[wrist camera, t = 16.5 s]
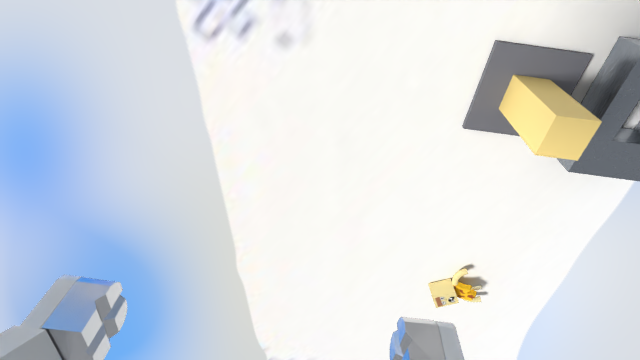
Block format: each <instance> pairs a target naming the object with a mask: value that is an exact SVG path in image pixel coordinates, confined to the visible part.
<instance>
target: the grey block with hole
mask: <svg viewBox="0 0 640 360" xmlns="http://www.w3.org/2000/svg"><path fill="white" fill-rule="evenodd" d="M639 100H640V39H633V38H626V37H619V38H618V40H617V42H616V44H615V45H614V47H613V49H612V51H611V52H610V54H609V56H608V57H607V59H606V61H605V63H604V64H603V66H602V68H601V70H600V71H599V73H598V75H597V77H596V78H595V80H594V82H593V84H592V85H591V87H590V89H589V91H588V92H587V94H586V96H585V98H584V99H583V101H582V103H581V105H582V106H583V107H585V108H586V109H587V110H588V111H589V112H591V113H592V114H593V115H594V116H596V117H597V118H598V119H599V120H601V121H602V123H601V124H600V126H599V127H598V129H597V131H596V132H595V134H594V135H593V137H592V139H591V140H590V142H589V143H588V145H587V147H586V148H585V150H584V151H583V153H582V155H581V156H580V158H579V159H578V161H576V160H569V159H561V158H557V159H558V161H559V162H560V163H561V164H562V165H563V166H564V167H565V169H566V170H567V171H568V172H574V173H581V174H589V175H596V176H604V177H611V178H619V179H626V180H634V181H640V121H639V123H638V124H637V126H636V127H635V129H628V128H621V127H622V125H623V124H624V122H625V121H626V119H627V118H628V116H629V115H630V113H631V112H632V110H633V109H634V107H635V106H636V104H637V103H638V101H639Z"/></svg>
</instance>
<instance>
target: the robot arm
mask: <svg viewBox="0 0 640 360" xmlns="http://www.w3.org/2000/svg"><path fill="white" fill-rule="evenodd" d="M122 290H123V289H122V286H121V284H120V282H115V281H107V280H99V279H92V278H85V277H79V276H71V275H63V276H61V277H60V278H58V279H57V280H56V281H55V283H54V284H53V285H52V286H51V288H50V289H49V290H48V291H47V293H46V294H45V295H44V296H43V298H42V299H41V300H40V301H39V303H38V304H37V305H36V307H35V308H34V309H33V310H32V311H31V313H30V314H29V315H28V316H27V317H26V319H25V320H24V321H23V323H22V324H21V325H20V326H12V327H11V328H9V329H7V330H6V331H4V332H2V333H0V360H104V358H105V356H106V354H107V353H108V351H109V349H110V347H111V345H110V339H109V338H111V337H112V336H114V335H115V334H116V333H118V332H119V331H120V329H121V327H122V324H123V323H124V320H125V317H126V313H127V303H126V299H125V298H123V297H122V296H121V295H120V293H121V292H122ZM397 327H398V330H397V331H395V332H393V335H392V338H391V343H390V360H464V357H463V353H462V350H461V346H460V342H459V339H458V335H457V331H456V327H455V326H454V325H453V324H452V323H448V322H438V321H434V320H425V319H416V318H407V317H401V318H400V319H399V320H398V323H397Z"/></svg>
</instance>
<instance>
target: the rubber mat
mask: <svg viewBox="0 0 640 360" xmlns="http://www.w3.org/2000/svg"><path fill="white" fill-rule="evenodd" d="M592 56H593V55H591V54H588V53H581V52H574V51H567V50H560V49H553V48H546V47H539V46H532V45H525V44H517V43H510V42H503V41H496V40H495V43H494V45H493V48H492V51H491V53H490V56H489V58H488V61H487V63H486V66H485V69H484V71H483V74H482V76H481V79H480V82H479V84H478V87H477V89H476V92H475V95H474V97H473V100H472V102H471V105H470V108H469V110H468V113H467V115H466V118H465V120H464V123H463V128H464V129H471V130H479V131H486V132H494V133H501V134H508V135H516V136H520V135H519V134H518V133H517V131H516V130H515V129H514V128H513V126H512V125H511V124H510V123H509V121H508V120H507V119H506V117H505V116H504V115H503V114H502V112H501V111H500V110H499V107H500V104H501V102H502V100H503V97H504V95H505V93H506V90H507V88H508V86H509V84H510V81H511V79H512V77H513V75H521V76H528V77H535V78H542V79H550V80H551V81H552V82H554V83H555V84H556V85H557V86H559V87H560V88H561V89H562V90H563V91H565V92H566V93H567V94H568V95H570V96H571V94H572V92H573V90H574V88H575V87H576V85H577V83H578V81H579V79H580V77H581V76H582V74H583V72H584V70H585V68H586V67H587V65H588V63H589V61H590V59H591V57H592Z"/></svg>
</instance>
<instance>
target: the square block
mask: <svg viewBox="0 0 640 360" xmlns="http://www.w3.org/2000/svg"><path fill="white" fill-rule="evenodd" d="M499 110H500V111H501V112H502V114H503V115H504V116H505V117H506V119H507V120H508V121H509V123H510V124H511V125H512V126H513V128H514V129H515V130H516V131H517V133H518V134H519V135H520V137H521V138H522V139H523V140H524V142H525V143H526V144H527V145H528V147H529V148H530V149H531V151H532V152H533V153H534V154H535V155H539V156H546V157H554V158H561V159H569V160H576V161H578V159H579V158H580V156H581V155H582V153H583V151H584V150H585V148H586V147H587V145H588V143H589V142H590V140H591V139H592V137H593V135H594V134H595V132H596V131H597V129H598V127H599V126H600V124H601V123H602V121H601V120H599V119H598V118H597V117H596V116H594V115H593V114H592V113H591V112H589V111H588V110H587V109H586V108H585V107H583V106H582V105H581V104H580V103H578V102H577V101H576V100H575V99H573V98H572V97H571V96H570V95H568V94H567V93H566V92H565V91H563V90H562V89H561V88H560V87H559V86H557V85H556V84H555V83H554V82H552V81H551V80H550V79H542V78H535V77H528V76H521V75H513V77H512V79H511V81H510V84H509V86H508V88H507V90H506V93H505V95H504V97H503V100H502V102H501V104H500V107H499Z"/></svg>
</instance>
